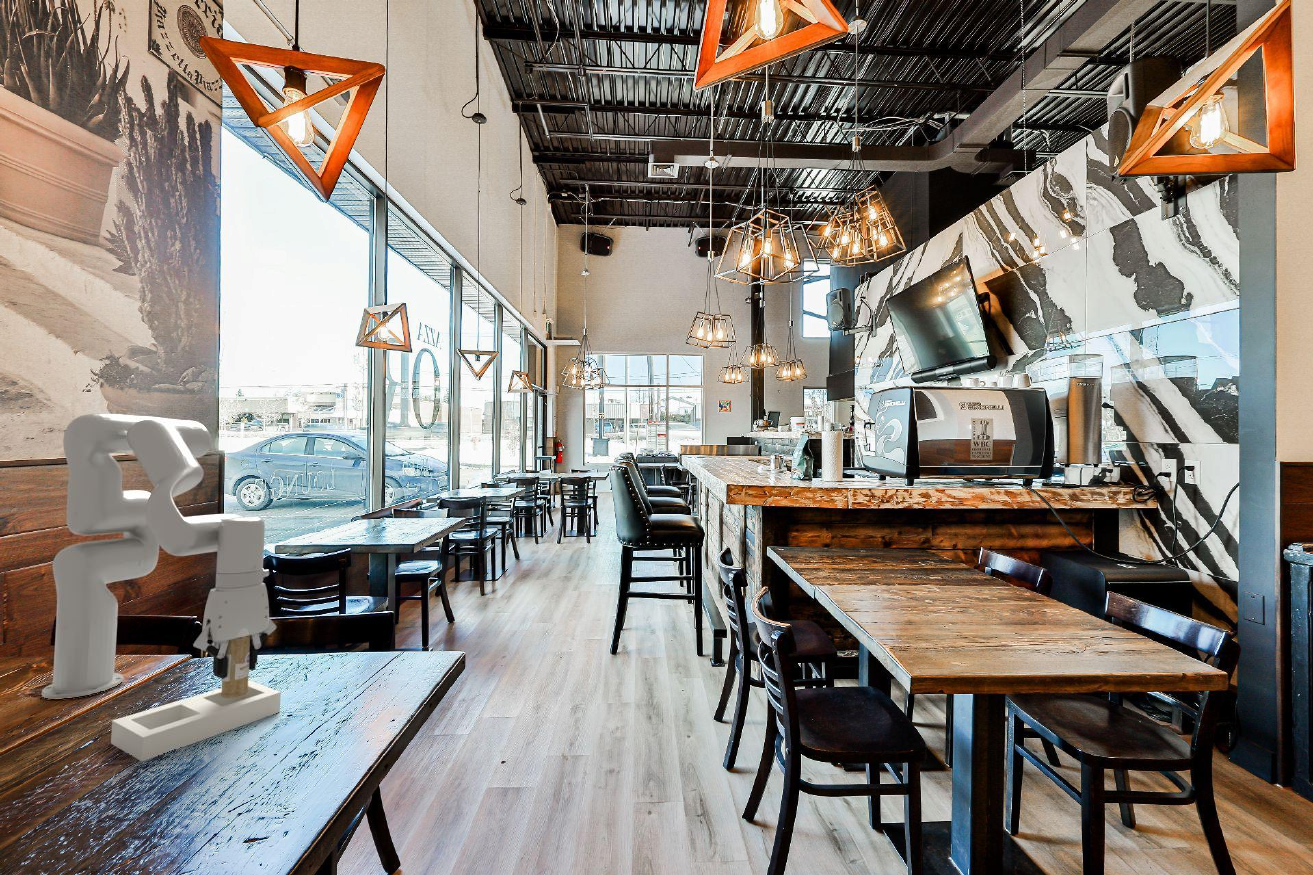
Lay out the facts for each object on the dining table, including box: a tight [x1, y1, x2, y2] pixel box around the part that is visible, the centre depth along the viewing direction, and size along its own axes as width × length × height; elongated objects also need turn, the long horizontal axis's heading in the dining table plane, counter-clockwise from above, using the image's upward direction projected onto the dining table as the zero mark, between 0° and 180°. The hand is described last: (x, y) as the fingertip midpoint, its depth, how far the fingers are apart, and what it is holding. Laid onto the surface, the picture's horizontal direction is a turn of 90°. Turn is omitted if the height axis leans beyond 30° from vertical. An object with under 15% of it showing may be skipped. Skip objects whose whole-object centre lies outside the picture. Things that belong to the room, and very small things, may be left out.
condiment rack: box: [110, 679, 282, 762], centre depth 109 cm, size 12×22×4 cm, turn 152°
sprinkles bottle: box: [221, 628, 250, 698], centre depth 114 cm, size 5×5×14 cm
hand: (235, 671), depth 114 cm, fingers closed on sprinkles bottle, 4 cm apart
